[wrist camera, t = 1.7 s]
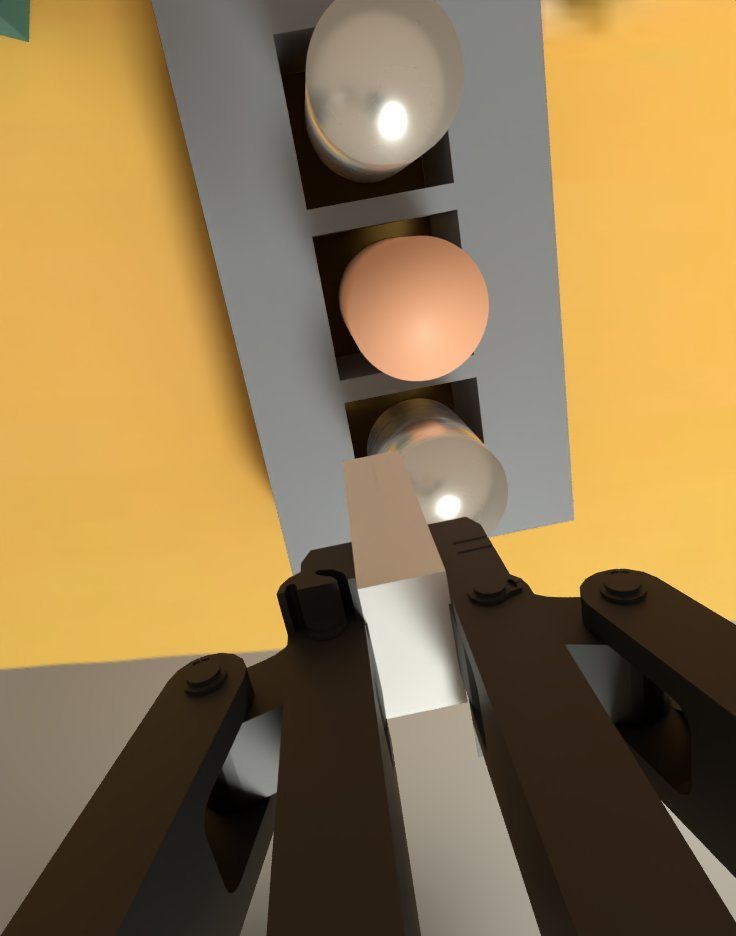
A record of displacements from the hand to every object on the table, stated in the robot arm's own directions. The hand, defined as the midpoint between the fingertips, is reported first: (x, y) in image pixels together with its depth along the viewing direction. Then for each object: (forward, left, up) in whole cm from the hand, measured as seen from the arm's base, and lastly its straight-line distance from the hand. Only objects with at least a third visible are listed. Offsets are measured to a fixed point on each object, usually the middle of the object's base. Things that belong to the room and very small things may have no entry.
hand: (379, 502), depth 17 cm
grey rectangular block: (+3, +4, -18) cm, 18 cm away
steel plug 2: (+3, -3, -12) cm, 13 cm away
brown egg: (+3, +4, -12) cm, 13 cm away
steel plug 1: (+3, +11, -12) cm, 17 cm away
